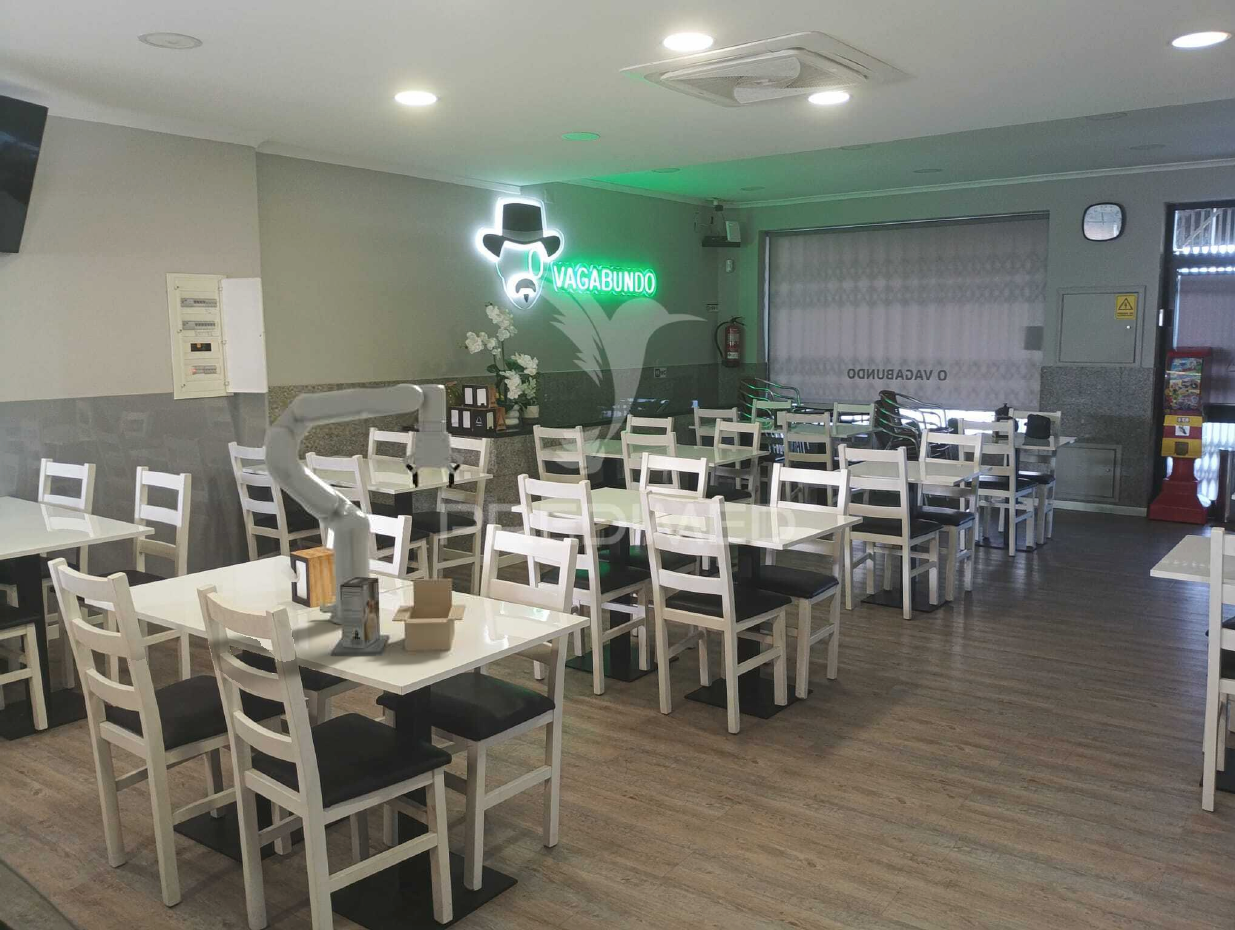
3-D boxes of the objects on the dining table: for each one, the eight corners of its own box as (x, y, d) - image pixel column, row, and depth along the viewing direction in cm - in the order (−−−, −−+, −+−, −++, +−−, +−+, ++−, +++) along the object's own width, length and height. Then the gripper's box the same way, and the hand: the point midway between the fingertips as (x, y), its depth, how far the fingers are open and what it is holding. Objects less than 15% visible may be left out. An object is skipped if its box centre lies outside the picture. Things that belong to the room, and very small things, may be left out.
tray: (331, 655, 231) (331, 651, 231) (342, 639, 245) (342, 635, 245) (381, 654, 233) (381, 650, 232) (389, 638, 246) (389, 634, 246)
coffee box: (357, 637, 244) (356, 576, 242) (380, 638, 243) (379, 577, 241) (341, 647, 235) (339, 584, 233) (365, 649, 234) (363, 585, 232)
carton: (390, 654, 233) (389, 595, 231) (400, 635, 250) (399, 579, 248) (461, 653, 234) (460, 594, 233) (466, 633, 251) (465, 578, 250)
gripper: (400, 428, 265) (401, 489, 267) (462, 428, 266) (463, 488, 268) (403, 426, 272) (404, 485, 274) (464, 426, 274) (464, 485, 276)
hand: (433, 487), depth 271 cm, fingers open, 9 cm apart
